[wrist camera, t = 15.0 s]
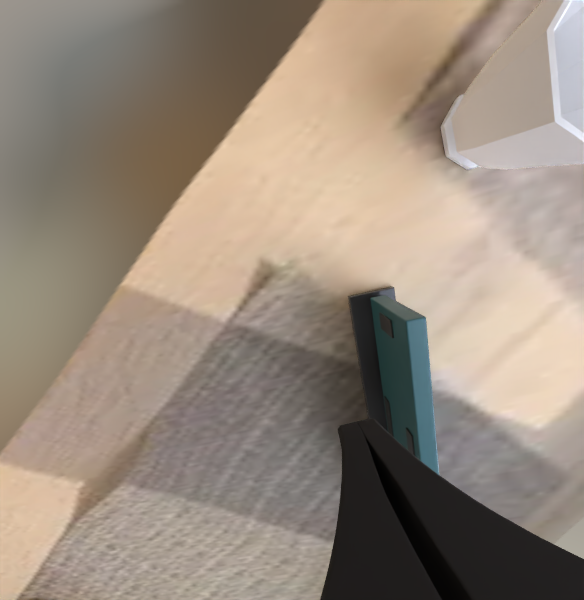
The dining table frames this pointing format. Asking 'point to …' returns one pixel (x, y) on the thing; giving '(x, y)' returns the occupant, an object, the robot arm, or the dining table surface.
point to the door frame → (369, 351)
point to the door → (406, 377)
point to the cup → (525, 97)
